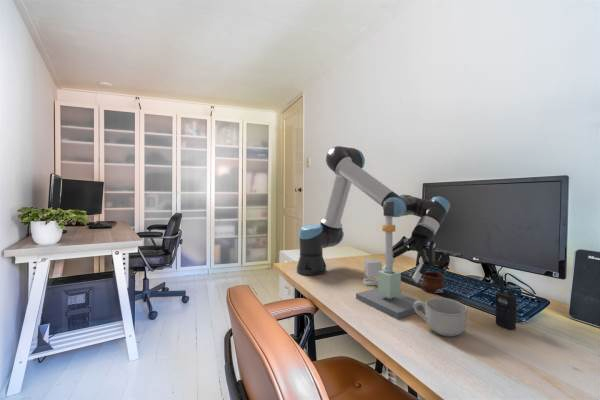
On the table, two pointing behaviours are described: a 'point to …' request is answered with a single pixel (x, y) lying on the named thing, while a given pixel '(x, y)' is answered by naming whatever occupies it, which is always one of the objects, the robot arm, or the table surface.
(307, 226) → the robot arm
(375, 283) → the security camera
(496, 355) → the table surface
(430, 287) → the ceramic pot
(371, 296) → the post
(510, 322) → the two-way radio
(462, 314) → the teacup
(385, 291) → the sleeve
